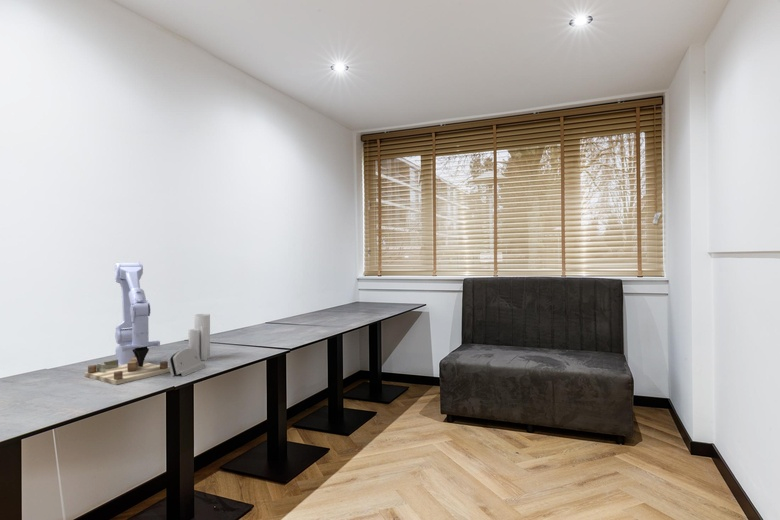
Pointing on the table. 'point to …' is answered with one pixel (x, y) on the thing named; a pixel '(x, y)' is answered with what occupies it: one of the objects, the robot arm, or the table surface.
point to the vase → (201, 335)
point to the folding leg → (132, 364)
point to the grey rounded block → (185, 362)
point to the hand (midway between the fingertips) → (140, 366)
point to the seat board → (124, 371)
